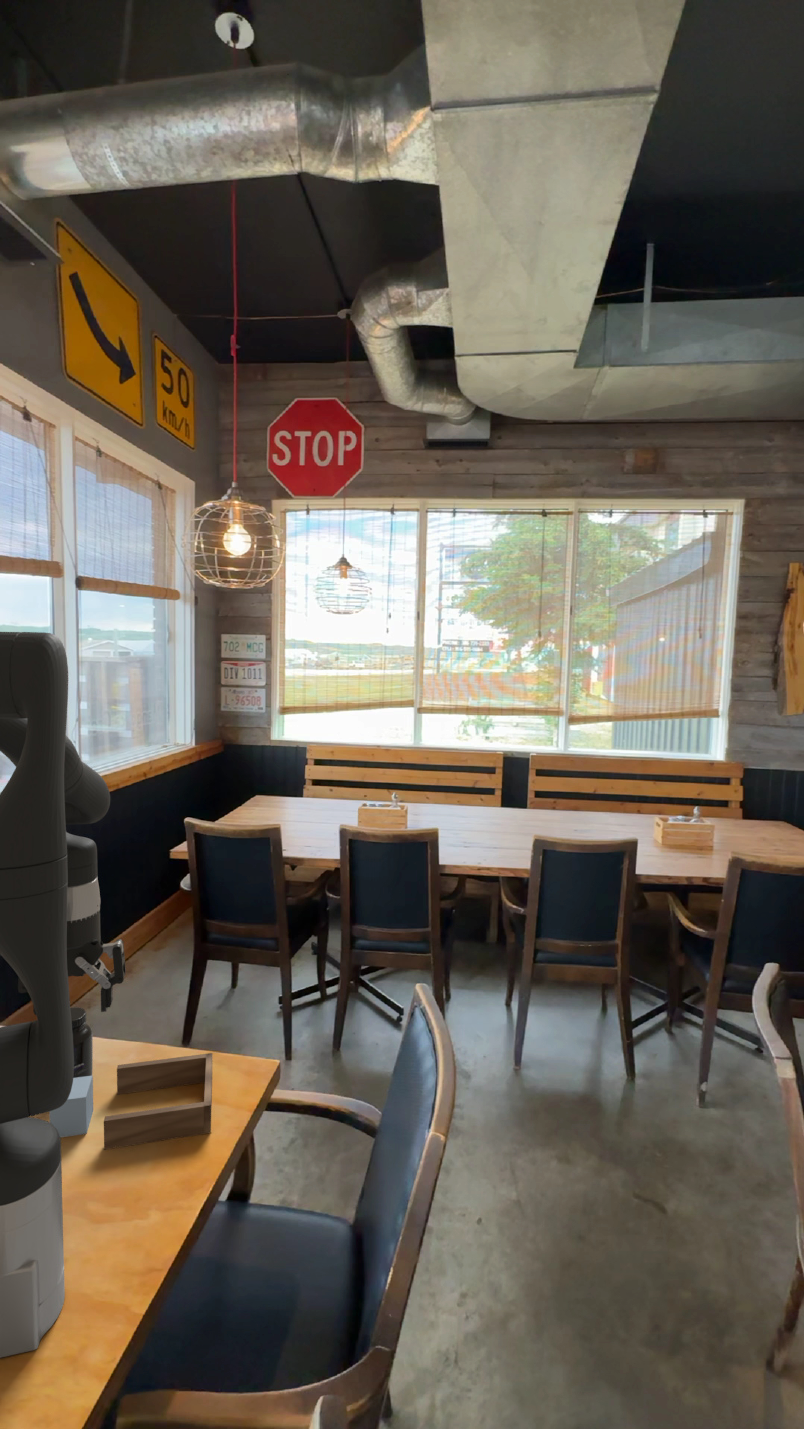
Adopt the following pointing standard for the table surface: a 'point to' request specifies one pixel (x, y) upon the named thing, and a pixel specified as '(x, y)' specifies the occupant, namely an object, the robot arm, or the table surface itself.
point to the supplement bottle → (81, 1043)
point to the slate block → (75, 1109)
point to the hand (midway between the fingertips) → (74, 1012)
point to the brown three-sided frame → (161, 1120)
